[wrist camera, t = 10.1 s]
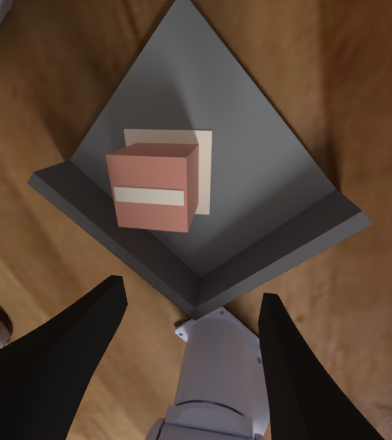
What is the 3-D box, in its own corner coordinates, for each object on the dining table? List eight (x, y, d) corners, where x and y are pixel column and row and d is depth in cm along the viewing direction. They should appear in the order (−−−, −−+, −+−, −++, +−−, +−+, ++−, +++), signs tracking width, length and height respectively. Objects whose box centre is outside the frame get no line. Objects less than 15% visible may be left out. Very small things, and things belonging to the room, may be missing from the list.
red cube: (198, 144, 17) (186, 158, 13) (198, 203, 19) (187, 233, 15) (137, 142, 18) (104, 155, 13) (144, 200, 20) (118, 227, 16)
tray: (341, 197, 18) (372, 223, 14) (201, 285, 25) (194, 321, 21) (184, -6, 14) (162, -52, 10) (67, 167, 21) (27, 183, 17)
